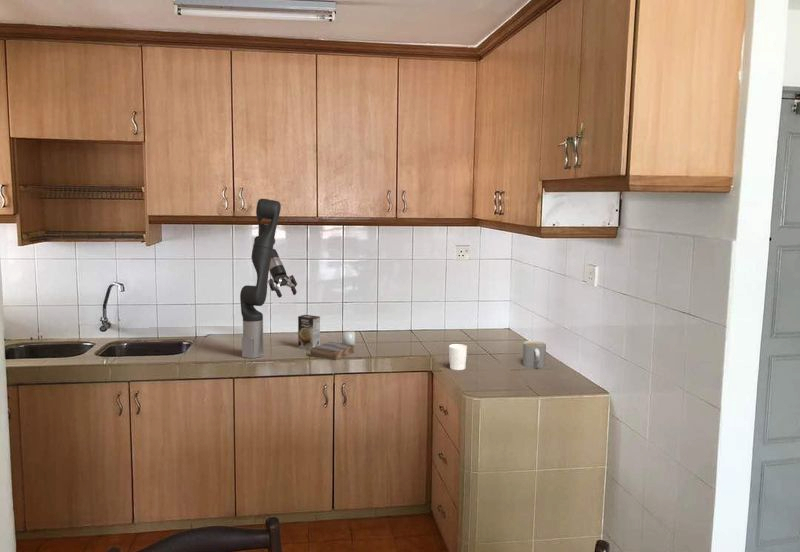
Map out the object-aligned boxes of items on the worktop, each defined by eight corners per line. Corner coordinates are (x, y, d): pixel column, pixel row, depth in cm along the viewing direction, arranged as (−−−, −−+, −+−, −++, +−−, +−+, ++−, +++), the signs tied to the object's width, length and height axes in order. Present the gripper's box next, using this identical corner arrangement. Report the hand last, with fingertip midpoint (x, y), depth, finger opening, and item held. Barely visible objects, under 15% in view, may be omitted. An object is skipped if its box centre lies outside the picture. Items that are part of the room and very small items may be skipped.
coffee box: (297, 348, 319) (297, 316, 317) (305, 345, 325) (305, 314, 322) (312, 350, 315) (312, 318, 313) (320, 347, 320) (320, 315, 318)
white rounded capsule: (351, 350, 317) (351, 334, 316) (340, 348, 319) (340, 332, 318) (357, 347, 322) (357, 331, 321) (347, 346, 325) (347, 330, 324)
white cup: (445, 366, 288) (445, 344, 286) (461, 365, 291) (461, 343, 289) (454, 371, 280) (454, 348, 279) (469, 369, 284) (470, 347, 282)
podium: (335, 360, 297) (335, 351, 297) (310, 356, 304) (310, 348, 303) (353, 352, 311) (353, 344, 311) (329, 349, 318) (329, 341, 317)
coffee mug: (523, 361, 298) (523, 340, 297) (545, 362, 296) (545, 341, 294) (522, 369, 285) (522, 347, 284) (545, 370, 283) (546, 348, 282)
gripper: (266, 266, 323) (278, 294, 318) (291, 262, 333) (302, 289, 328) (261, 273, 328) (272, 301, 324) (285, 269, 338) (296, 296, 333)
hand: (287, 295), depth 326 cm, fingers open, 8 cm apart
